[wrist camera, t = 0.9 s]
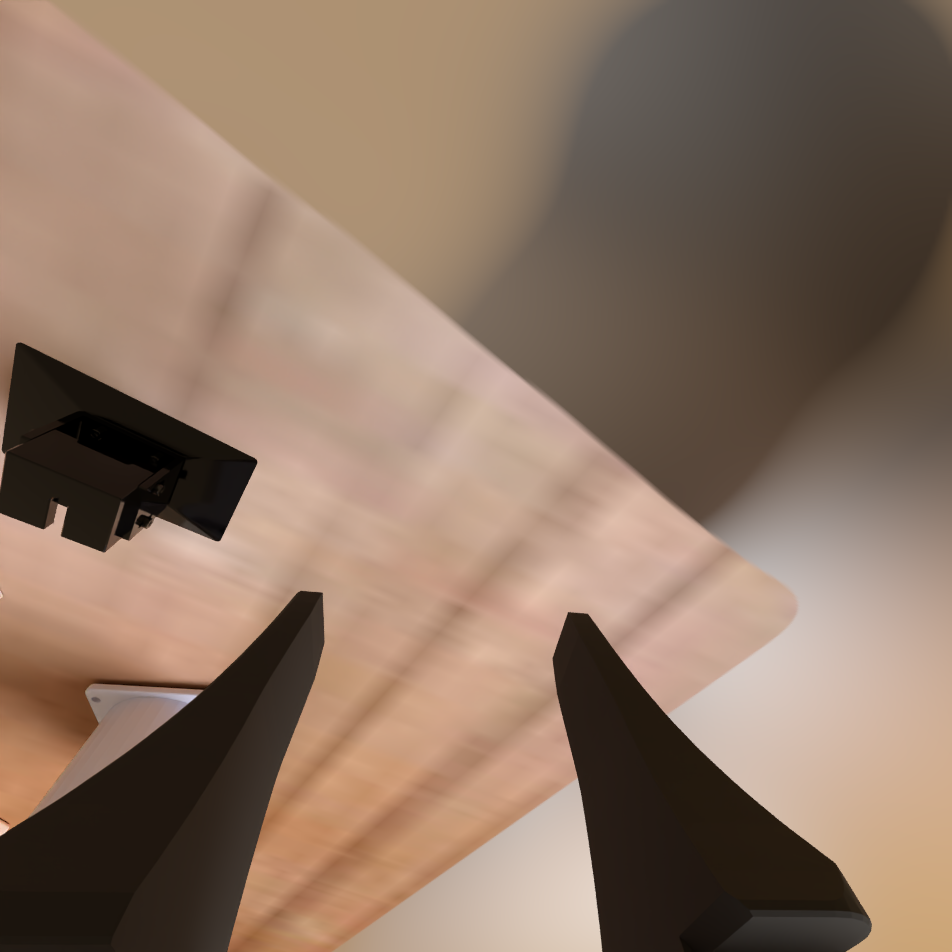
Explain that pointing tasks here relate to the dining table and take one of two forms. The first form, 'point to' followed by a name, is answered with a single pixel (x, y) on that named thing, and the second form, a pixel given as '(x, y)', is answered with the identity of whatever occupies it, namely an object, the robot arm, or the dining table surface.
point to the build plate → (108, 460)
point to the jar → (3, 827)
